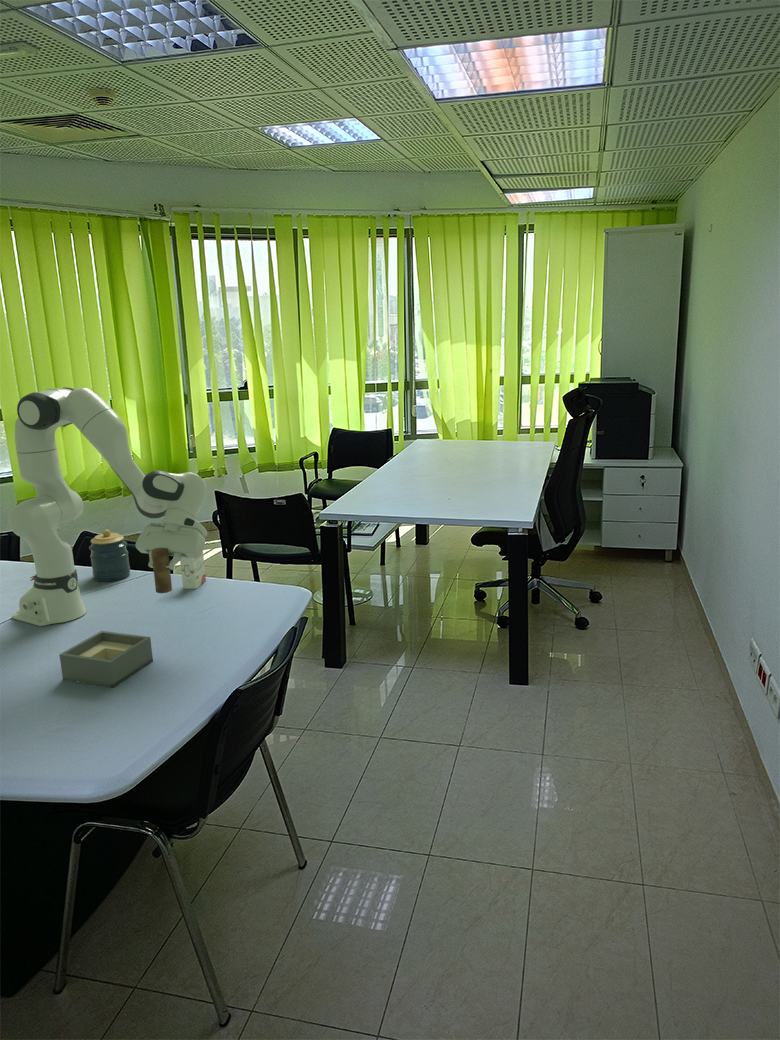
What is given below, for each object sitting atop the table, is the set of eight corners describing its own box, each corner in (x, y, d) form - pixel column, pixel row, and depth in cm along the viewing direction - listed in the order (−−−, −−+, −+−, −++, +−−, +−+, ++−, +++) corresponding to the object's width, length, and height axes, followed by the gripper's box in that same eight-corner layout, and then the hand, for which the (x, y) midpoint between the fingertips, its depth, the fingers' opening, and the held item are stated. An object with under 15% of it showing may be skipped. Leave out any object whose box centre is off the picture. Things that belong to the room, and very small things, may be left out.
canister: (86, 581, 270) (79, 534, 266) (104, 570, 283) (98, 524, 278) (120, 582, 268) (114, 535, 264) (137, 570, 281) (131, 525, 276)
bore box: (63, 679, 196) (59, 654, 194) (104, 653, 211) (101, 630, 209) (113, 687, 191) (110, 662, 189) (153, 661, 205) (150, 637, 203)
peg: (152, 592, 212) (148, 551, 209) (162, 587, 216) (157, 546, 213) (165, 593, 210) (161, 552, 207) (175, 588, 214) (171, 548, 211)
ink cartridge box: (193, 580, 269) (189, 540, 265) (206, 581, 268) (202, 541, 264) (182, 588, 261) (178, 548, 257) (195, 589, 260) (191, 548, 256)
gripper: (141, 517, 218) (123, 559, 212) (202, 522, 211) (185, 566, 205) (152, 527, 223) (135, 569, 217) (212, 533, 216) (196, 576, 210)
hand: (160, 567), depth 211 cm, fingers closed on peg, 4 cm apart
